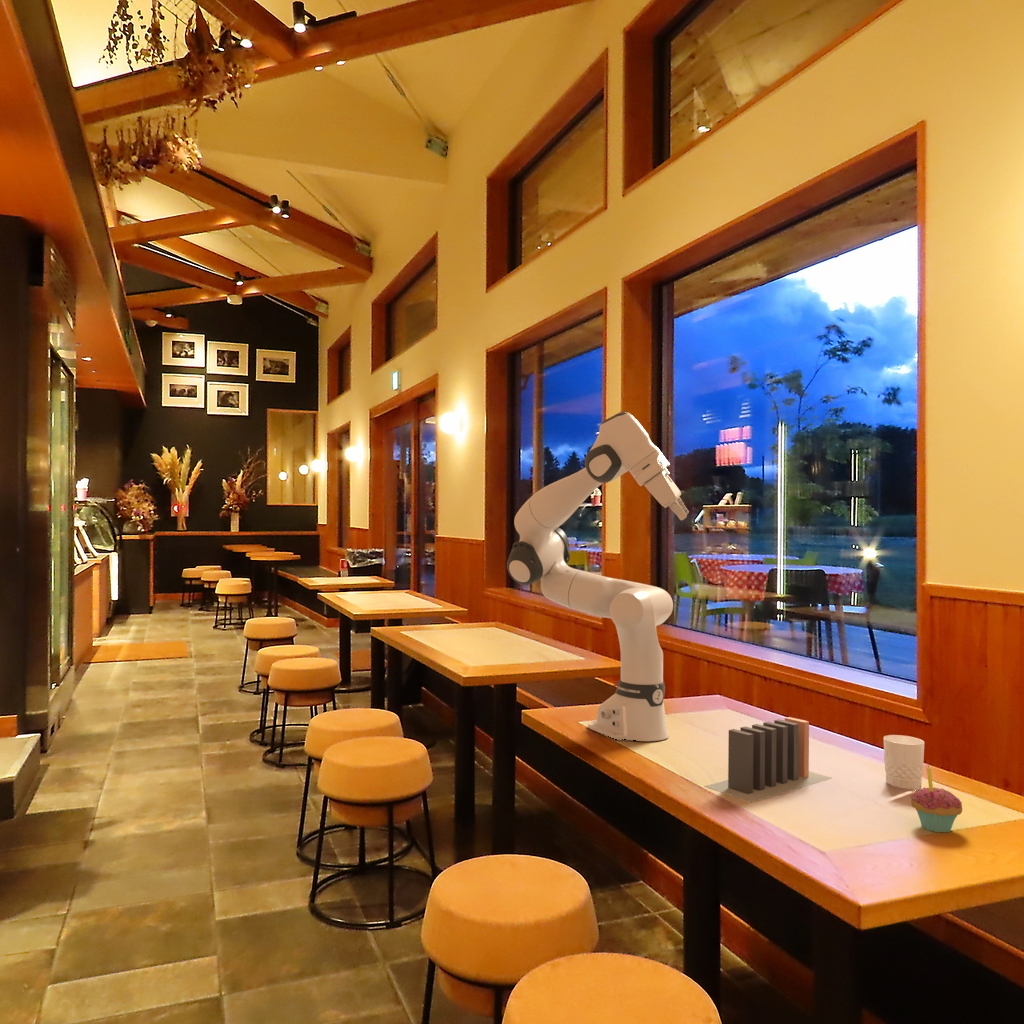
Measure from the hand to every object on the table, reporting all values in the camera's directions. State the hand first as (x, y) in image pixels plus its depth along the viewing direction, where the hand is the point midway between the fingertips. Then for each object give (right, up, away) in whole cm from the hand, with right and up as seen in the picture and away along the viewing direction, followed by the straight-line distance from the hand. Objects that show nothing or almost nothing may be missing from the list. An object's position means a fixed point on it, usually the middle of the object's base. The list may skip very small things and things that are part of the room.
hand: (685, 516), depth 194 cm
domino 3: (+12, -57, -21) cm, 62 cm away
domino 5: (+18, -57, -16) cm, 62 cm away
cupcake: (+37, -57, -44) cm, 81 cm away
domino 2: (+9, -56, -23) cm, 62 cm away
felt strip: (+14, -57, -20) cm, 62 cm away
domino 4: (+15, -57, -19) cm, 62 cm away
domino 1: (+6, -56, -26) cm, 62 cm away
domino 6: (+22, -57, -14) cm, 62 cm away
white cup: (+42, -58, -20) cm, 74 cm away
